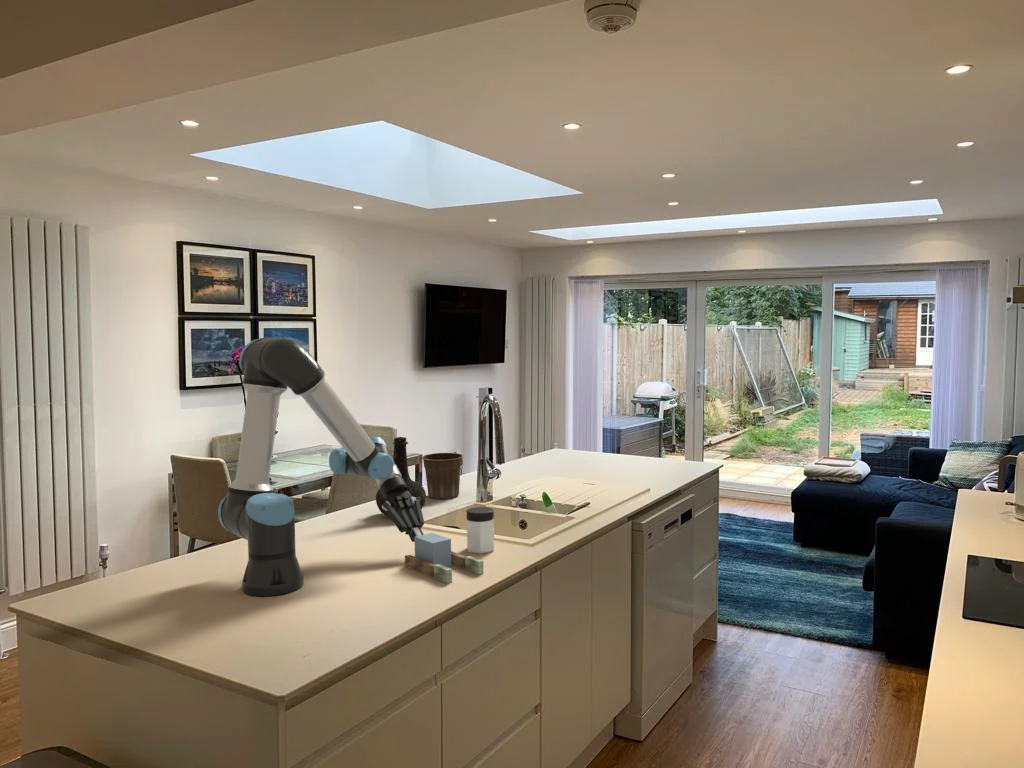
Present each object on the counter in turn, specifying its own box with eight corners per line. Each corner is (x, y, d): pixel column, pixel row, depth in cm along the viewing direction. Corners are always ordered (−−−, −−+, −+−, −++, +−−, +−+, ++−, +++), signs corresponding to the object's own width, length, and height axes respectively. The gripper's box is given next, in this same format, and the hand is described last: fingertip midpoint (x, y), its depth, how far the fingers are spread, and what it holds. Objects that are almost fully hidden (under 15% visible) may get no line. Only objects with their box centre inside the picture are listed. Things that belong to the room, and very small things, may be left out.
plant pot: (446, 502, 292) (446, 460, 291) (414, 498, 301) (413, 457, 300) (472, 494, 306) (471, 454, 304) (440, 490, 314) (439, 451, 313)
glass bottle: (386, 524, 260) (384, 442, 258) (369, 513, 276) (367, 436, 274) (434, 517, 269) (433, 438, 267) (415, 507, 285) (413, 432, 283)
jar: (494, 553, 225) (494, 513, 224) (466, 554, 224) (466, 513, 224) (494, 545, 234) (493, 506, 233) (467, 545, 233) (466, 506, 233)
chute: (405, 566, 214) (404, 553, 213) (440, 557, 222) (440, 545, 221) (447, 583, 199) (447, 570, 198) (483, 573, 206) (483, 560, 206)
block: (415, 564, 215) (414, 536, 215) (432, 560, 219) (432, 532, 219) (433, 572, 209) (433, 543, 208) (451, 567, 212) (450, 539, 212)
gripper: (404, 486, 236) (436, 551, 225) (367, 493, 228) (399, 561, 217) (413, 472, 232) (447, 537, 221) (376, 478, 223) (409, 546, 212)
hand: (423, 549), depth 219 cm, fingers closed
